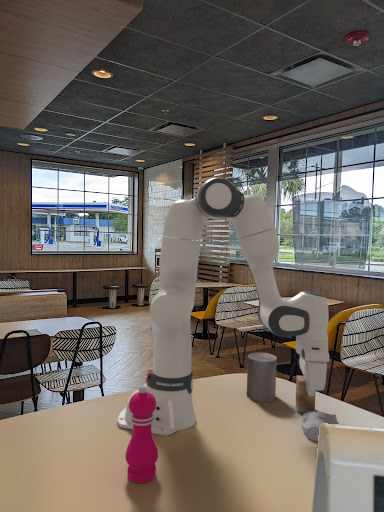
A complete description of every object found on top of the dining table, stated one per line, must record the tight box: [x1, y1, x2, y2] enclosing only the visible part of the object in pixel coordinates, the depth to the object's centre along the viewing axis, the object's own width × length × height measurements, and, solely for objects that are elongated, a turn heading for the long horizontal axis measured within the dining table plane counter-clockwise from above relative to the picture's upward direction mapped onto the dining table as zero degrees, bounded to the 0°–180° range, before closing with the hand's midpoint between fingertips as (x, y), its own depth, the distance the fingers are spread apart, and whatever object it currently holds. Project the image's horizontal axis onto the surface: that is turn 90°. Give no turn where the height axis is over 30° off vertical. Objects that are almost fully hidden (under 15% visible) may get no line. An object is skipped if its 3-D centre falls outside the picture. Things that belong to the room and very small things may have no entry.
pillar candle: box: [246, 351, 277, 403], centre depth 131 cm, size 10×10×15 cm
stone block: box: [301, 411, 340, 442], centre depth 107 cm, size 12×5×10 cm
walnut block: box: [295, 375, 317, 415], centre depth 120 cm, size 5×5×10 cm
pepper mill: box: [125, 385, 159, 484], centre depth 86 cm, size 7×7×20 cm
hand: (310, 394), depth 113 cm, fingers closed
